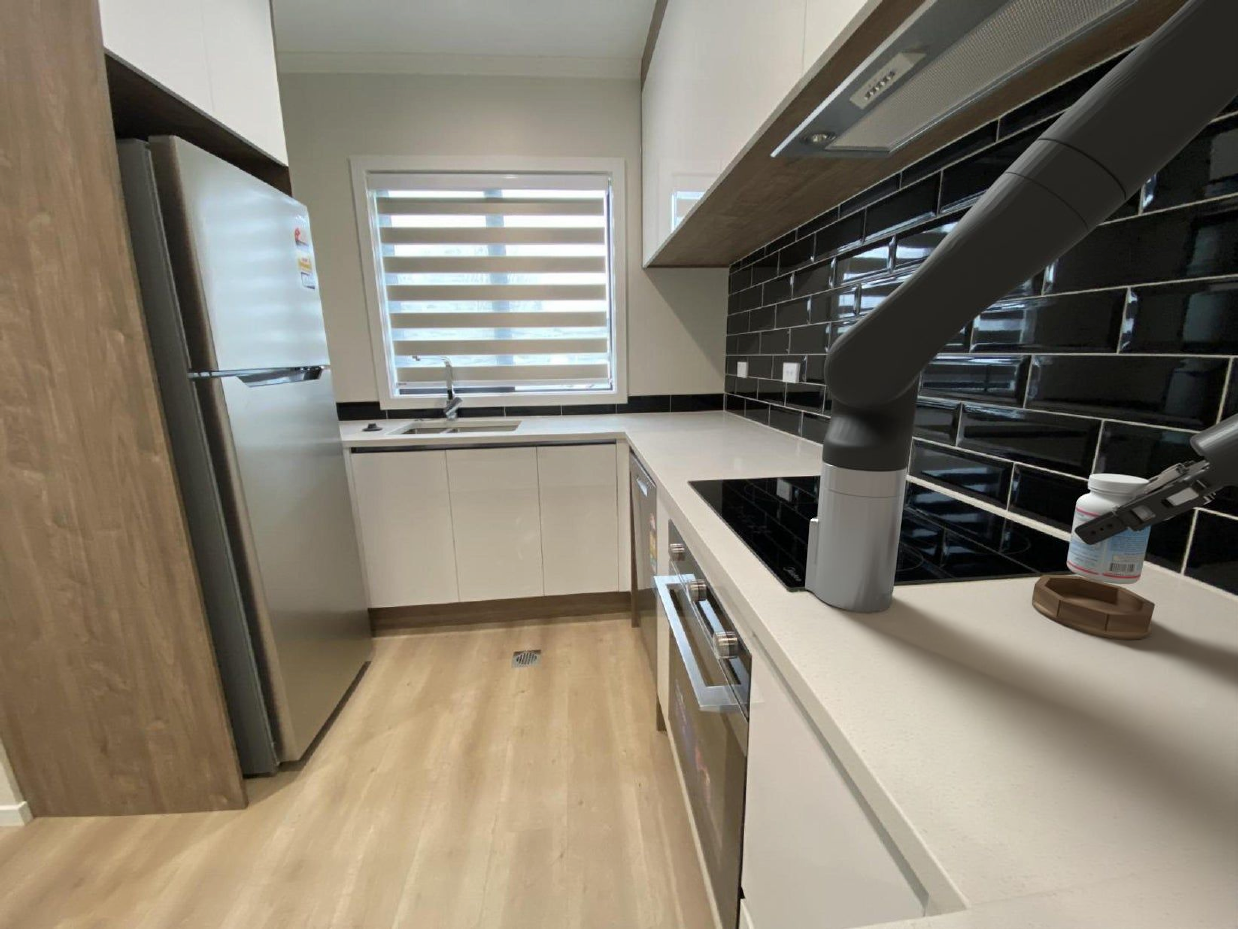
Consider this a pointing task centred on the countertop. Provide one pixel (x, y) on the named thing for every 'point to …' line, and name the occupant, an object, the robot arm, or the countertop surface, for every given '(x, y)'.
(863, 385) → the robot arm
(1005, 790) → the countertop surface
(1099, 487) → the pill bottle
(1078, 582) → the bowl
